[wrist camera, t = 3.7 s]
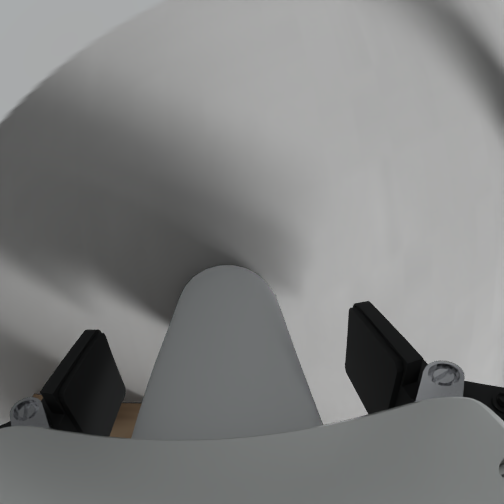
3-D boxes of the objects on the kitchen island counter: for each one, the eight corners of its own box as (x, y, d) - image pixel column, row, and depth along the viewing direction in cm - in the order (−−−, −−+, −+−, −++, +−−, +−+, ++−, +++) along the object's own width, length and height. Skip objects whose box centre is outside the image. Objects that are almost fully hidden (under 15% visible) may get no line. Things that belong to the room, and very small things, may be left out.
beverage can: (190, 355, 15) (160, 588, 3) (167, 269, 13) (46, 530, 2) (282, 342, 15) (351, 575, 3) (272, 253, 14) (398, 526, 2)
